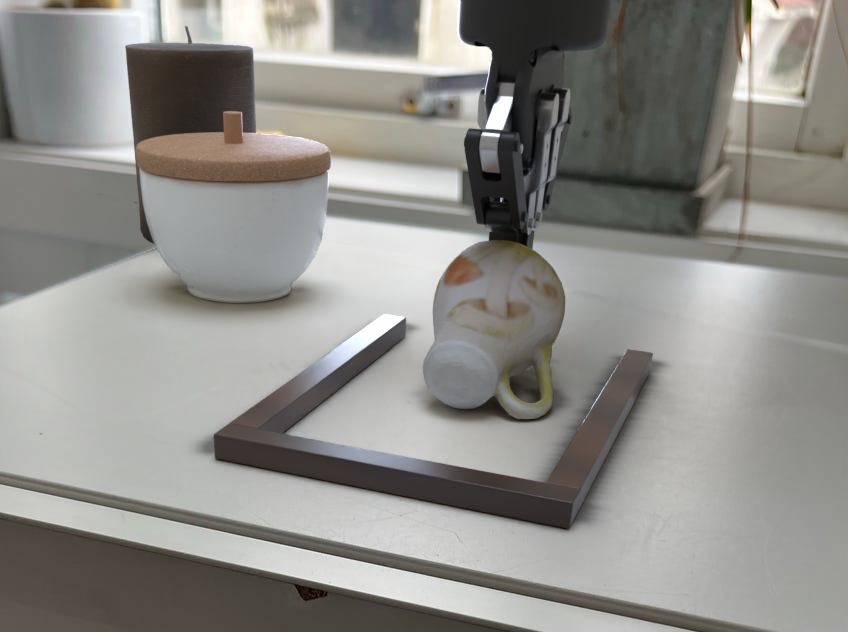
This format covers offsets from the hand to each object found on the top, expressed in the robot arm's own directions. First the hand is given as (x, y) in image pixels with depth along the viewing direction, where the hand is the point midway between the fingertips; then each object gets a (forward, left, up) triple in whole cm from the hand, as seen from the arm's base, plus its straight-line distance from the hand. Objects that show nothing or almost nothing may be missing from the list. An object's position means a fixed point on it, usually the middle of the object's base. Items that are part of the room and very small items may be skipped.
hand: (505, 298), depth 58 cm
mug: (+6, +2, -4) cm, 7 cm away
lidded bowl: (0, -21, -4) cm, 22 cm away
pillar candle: (-10, -35, -4) cm, 36 cm away
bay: (+9, +3, -3) cm, 10 cm away
